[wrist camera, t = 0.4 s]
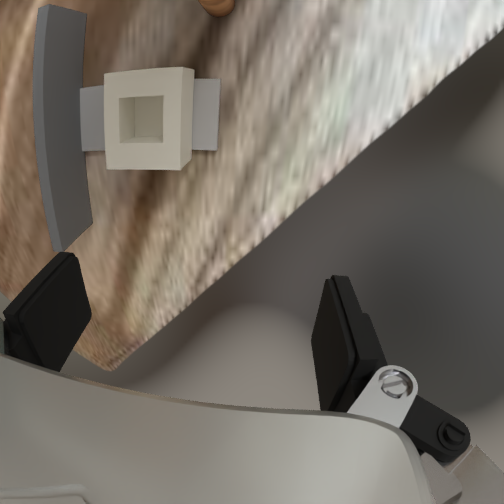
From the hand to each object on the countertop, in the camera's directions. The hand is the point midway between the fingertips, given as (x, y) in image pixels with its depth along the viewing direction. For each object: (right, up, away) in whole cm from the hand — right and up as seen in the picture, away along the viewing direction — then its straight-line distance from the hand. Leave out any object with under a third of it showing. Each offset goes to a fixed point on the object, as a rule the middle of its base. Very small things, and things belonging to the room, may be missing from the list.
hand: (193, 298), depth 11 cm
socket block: (-8, +16, +19) cm, 27 cm away
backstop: (-11, +17, +20) cm, 28 cm away
